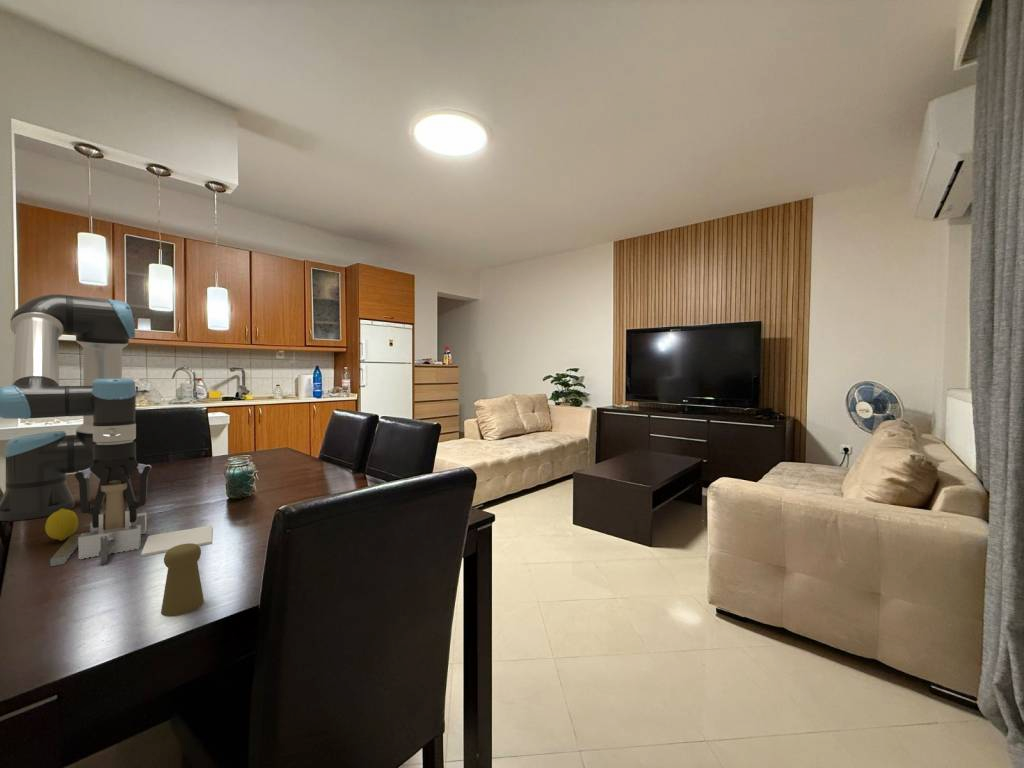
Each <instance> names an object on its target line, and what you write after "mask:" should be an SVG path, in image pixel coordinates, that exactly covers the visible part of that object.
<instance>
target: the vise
mask: <svg viewBox="0 0 1024 768" xmlns="http://www.w3.org/2000/svg"><path fill="white" fill-rule="evenodd" d="M147 519H148V518H147V512H140V513H138V512H137V519H136V521H135V522H131V526H127V527H120V528H113V529H107V530H100V531H99V527H97V528H93V526H92V524H93V523H92V521H91V522H90V523H89V531H87V532H81V533H76V534H72V535H71V536H69V537H68V538H67V540H66V541H65V542H64V543H63V544H62V545H61V546H60V548H59V549H58V550H57V551H55V553H54V554H53V556H52V557H51V558H50V561H49V562H50V567H54V566H55V567H56V566H62V565H65V564H66V562H67V561H68V560H69V558H70V557H71V556H72V555H73V553H74V552H75V551H76V549H77V548H78V560H79V559H80V560H84V558H86V559H90V558H89V557H91V558H96V557H95V556H97V557H100V566H105V565H104V564H106V565H108V555H112V554H111V553H114V554H117V553H116V552H120V553H123V551H125V552H130V551H129V550H131V551H135V550H134V549H137V550H139V549H140V548H141V543H142V542H141V541H142V540H141V539H142V538H141V536H142V535H141V534H145V533H146V534H147V531H146V530H148V529H147V522H148V521H147ZM146 534H145V535H146ZM77 546H78V547H77ZM139 547H140V548H139ZM74 550H75V551H74ZM71 554H72V555H71ZM70 555H71V556H70ZM67 559H68V560H67Z"/></svg>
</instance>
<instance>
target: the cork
mask: <svg viewBox="0 0 1024 768" xmlns="http://www.w3.org/2000/svg"><path fill="white" fill-rule="evenodd" d="M201 554H202V550H201V546H198V545H197V544H193V543H188V544H181V545H178V546H175V547H173V548H171V549H169V550H168V551H167V552H165V554H164V557H163V564H164V566H165V567H167V573H166V577H165V578H166V579H165V585H164V591H163V598H162V605H161V609H160V610H161V611H160V614H161V615H162V616H163V617H170V616H171V617H178V616H182V614H183V615H185V613H186V614H188V612H189V613H191V612H193V611H196V610H198V609H199V608H200V607H201V606H202V605H203V604H204V602H205V599H204V593H203V586H202V582H201V577H200V570H199V564H198V561H199V560H200V558H201ZM199 606H200V607H199ZM198 607H199V608H198Z"/></svg>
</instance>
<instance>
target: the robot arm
mask: <svg viewBox="0 0 1024 768" xmlns="http://www.w3.org/2000/svg"><path fill="white" fill-rule="evenodd" d="M9 326H10V330H11V331H12V333H13V334H14V335H15V342H14V353H13V367H12V377H11V378H12V380H11V385H4V386H0V418H1V419H9V420H13V419H15V420H16V419H21V420H22V419H24V420H28V419H45V418H60V417H61V418H62V417H63V418H64V417H82V421H83V422H82V424H81V425H80V426H78V427H77V428H76V429H75V434H71V435H70V434H69V435H67V432H66V431H64V430H57V431H46V432H39V433H38V432H37V433H33V434H27V435H22V436H18V437H14V438H12V439H10V440H8V441H7V442H6V444H5V451H4V452H5V453H4V455H3V458H5V491H4V493H3V495H2V497H1V500H0V521H2V522H3V521H4V522H11V521H12V522H13V521H24V520H30V519H31V520H32V519H38V518H43V517H49V516H50V515H51V514H53V513H54V512H56V511H59V510H60V509H63V508H64V509H66V510H72V509H73V508H75V498H74V496H73V494H72V492H71V491H70V488H69V486H68V485H67V475H68V474H74V477H75V479H76V481H77V482H78V489H79V501H80V502H79V504H80V513H81V514H88V515H89V514H90V515H91V517H92V520H91V522H92V523H93V524H92V526H93V528H97V527H99V531H100V530H104V517H105V510H104V511H102V509H103V505H104V501H105V498H106V493H105V492H102V491H101V486H105V485H107V484H108V483H109V482H110V481H115V480H118V481H120V480H121V483H122V484H124V483H127V489H125V490H124V496H125V500H126V502H127V505H128V507H127V508H125V509H126V511H125V527H127V526H131V522H135V521H136V519H137V514H138V508H140V507H144V506H145V505H146V503H147V501H148V483H149V482H148V481H149V473H150V471H151V469H152V464H144V463H140V462H139V460H138V459H137V443H136V441H135V439H136V438H137V424H136V423H137V422H136V408H137V406H136V404H137V403H136V399H137V398H136V397H137V388H136V382H135V380H133V379H132V378H123V374H122V373H123V349H124V348H126V347H127V346H128V345H129V343H130V342H129V341H130V340H132V339H135V338H136V327H135V320H134V315H133V311H132V308H131V306H130V305H129V304H128V302H126V301H123V300H122V301H121V300H115V299H110V298H99V297H90V296H89V297H87V296H79V295H78V296H77V295H68V294H60V293H55V294H46V295H42V296H37V297H35V298H32V299H30V300H28V301H26V302H24V303H22V304H21V305H20V306H18V308H17V309H15V311H14V312H13V313H12V316H11V318H10V325H9ZM62 335H67V336H75V342H76V343H78V344H79V346H81V347H82V348H83V349H82V352H83V354H82V356H83V357H82V359H83V363H82V364H83V365H82V366H83V367H82V371H83V374H82V375H83V377H82V381H83V382H82V384H83V385H60V360H59V359H60V358H59V355H60V354H59V352H60V351H59V345H60V344H59V338H60V337H61V336H62ZM136 469H137V470H138V473H139V474H140V478H139V480H140V481H139V493H138V494H139V496H138V500H137V499H136V495H135V493H134V488H133V485H132V482H131V475H132V474H133V472H134V471H135V470H136ZM91 474H93V475H95V476H96V477H97V478H98V479H99V482H98V483H99V484H98V488H97V492H96V496H95V499H94V504H93V506H91V504H92V503H91V490H90V477H91Z"/></svg>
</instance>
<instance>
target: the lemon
mask: <svg viewBox="0 0 1024 768" xmlns="http://www.w3.org/2000/svg"><path fill="white" fill-rule="evenodd" d="M78 517H79V516H78V515H77V514H76V512H75V511H73V510H72V509H70V510H66V509H64V508H63V509H60V510H59V511H56V512H54V513H53V514H51V515H49V516H48V517H47V520H46V522H45V526H44V529H45V533H46V535H47V536H48V537H49V538H50V539H54V540H58V541H61V542H63V541H65V540H66V539H68V538H69V537H70V536H71V535H74V533H75V532H76V531H77V529H78V526H79V518H78ZM62 540H63V541H62Z"/></svg>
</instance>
